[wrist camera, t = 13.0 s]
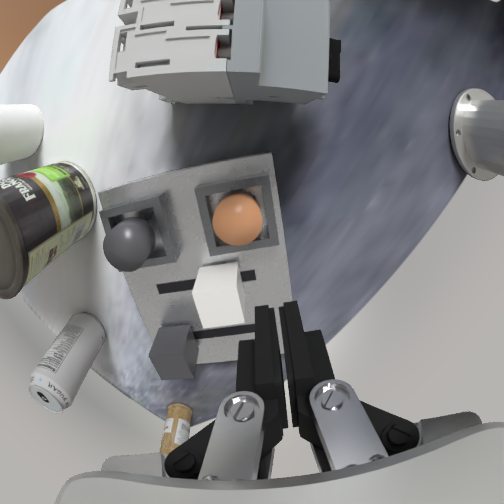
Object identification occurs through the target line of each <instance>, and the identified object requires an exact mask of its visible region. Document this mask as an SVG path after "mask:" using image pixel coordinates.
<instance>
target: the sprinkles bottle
mask: <svg viewBox="0 0 504 504" xmlns="http://www.w3.org/2000/svg"><path fill="white" fill-rule="evenodd" d="M167 409H168V412H167V417H166V421H165V425H164V431H163V436H162V441H161V448H160V453H162V454H169V453H170V452H171V451H172V450H174V449H175V448H177V447H178V446H179V445H181V444H182V443H184V442H185V441H187V440H188V439H189V432H190V422H191V416H192V410H191V409H190V408H189V407H188V406H186V405H184V404H180V403H174V404H170V405H169V406H168V408H167Z"/></svg>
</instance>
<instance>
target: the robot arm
mask: <svg viewBox="0 0 504 504" xmlns="http://www.w3.org/2000/svg"><path fill="white" fill-rule="evenodd" d="M450 137H451V143H452V147H453V150H454V153H455V156H456V158H457V160H458V162H459V164H460V165H461V167H462V168H463V170H464V171H465V172H466V173H467V174H468V175H470V176H471V177H473V178H475V179H478V180H482V181H487V180H490V179H493V178H494V177H495V176H497V175H498V174H500V175H502V176H504V101H503V100H495V99H494V98H493V97H492V96H491V95H490V94H488V93H487V92H485V91H483V90H481V89H467V90H464V91H462V92H461V93H460V94H459V95H458V96H457V98H456V99H455V101H454V104H453V106H452V110H451V115H450ZM278 308H279V316H280V323H281V331H282V339H283V347H284V355H285V363H286V372H287V380H288V388H289V397H290V406H291V413H292V423H293V427H299V434H300V436H301V437H302V438H304V439H305V440H307V441H309V442H310V444H311V448H312V451H313V454H314V457H315V460H316V463H317V466H318V468H319V471H320V473H316V474H310V475H303V476H295V477H287V478H276V479H271V472H272V465H273V458H274V451H275V449H274V447H275V446H276V445H277V444H278V443H279V442H280V441H281V440H282V436H283V429H284V428H288V420H287V410H286V400H285V391H284V380H283V371H282V362H281V354H280V346H279V339H278V332H277V325H276V318H275V311H274V308H269V306H268V305H262V306H255V339H250V340H240V341H239V345H238V361H237V379H236V393H232V394H231V395H229V396H227V397H226V398H225V399H224V400H223V401H222V402H221V404H220V406H219V410H218V413H217V417H216V420H214V421H213V422H212V423H210V424H209V425H207V426H206V427H205V428H203V429H202V430H201V431H199V432H198V433H197V434H195V435H194V436H192V437H191V438H190V439H188V440H187V441H185V442H184V443H182V444H181V445H179V446H178V447H177V448H175V449H174V450H172V451H171V452H170V453H169V454H162V453H151V454H141V455H122V456H113V457H110V458H108V459H106V461H105V462H104V463H103V465H102V469H101V471H92V472H86V473H82V474H78V475H75V476H73V477H72V478H70V479H69V480H67V482H66V483H65V484H64V485H63V487H62V488H61V490H60V492H59V494H58V496H57V498H56V501H55V504H504V422H489V423H484V424H482V421H481V419H480V417H479V416H478V415H477V414H476V413H473V412H470V411H469V412H461V413H456V414H451V415H446V416H441V417H436V418H429V419H422V420H420V422H418V423H412V422H410V421H408V420H406V419H403V418H401V417H398V416H396V415H393V414H390V413H388V412H385V411H383V410H381V409H378V408H376V407H374V406H371V405H369V404H367V403H364V402H362V401H360V400H359V399H358V397H357V395H356V393H355V391H354V389H353V388H352V387H351V386H350V385H349V384H348V383H346V382H344V381H341V380H335V377H334V374H333V370H332V367H331V363H330V360H329V356H328V353H327V349H326V346H325V342H324V339H323V336H322V332H321V330H315V331H309V332H304V330H303V325H302V321H301V317H300V312H299V308H298V304H297V301H290V302H284V303H283V306H281V307H278Z"/></svg>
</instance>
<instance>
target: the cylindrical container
mask: <svg viewBox="0 0 504 504" xmlns="http://www.w3.org/2000/svg"><path fill="white" fill-rule="evenodd" d="M43 131H44V121H43V116H42V114H41V111H40V110H39V109H38V108H37V107H36V106H35V105H30V104H17V105H0V165H1V164H5V163H9V162H12V161H16V160H20V159H24V158H28V157H30V156H31V155H33V154H34V153H35V152H36V150H37V149H38V147H39V145H40V143H41V140H42V137H43Z"/></svg>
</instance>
